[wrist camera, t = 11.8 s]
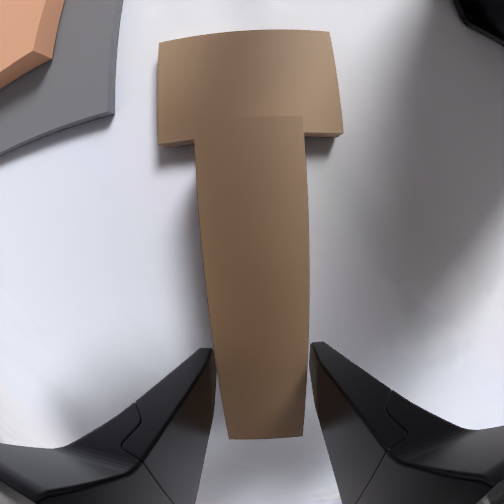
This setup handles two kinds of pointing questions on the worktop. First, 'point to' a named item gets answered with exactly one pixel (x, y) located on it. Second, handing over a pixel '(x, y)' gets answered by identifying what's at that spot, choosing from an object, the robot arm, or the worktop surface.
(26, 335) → the worktop surface
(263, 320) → the turner
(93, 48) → the mat
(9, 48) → the tile
